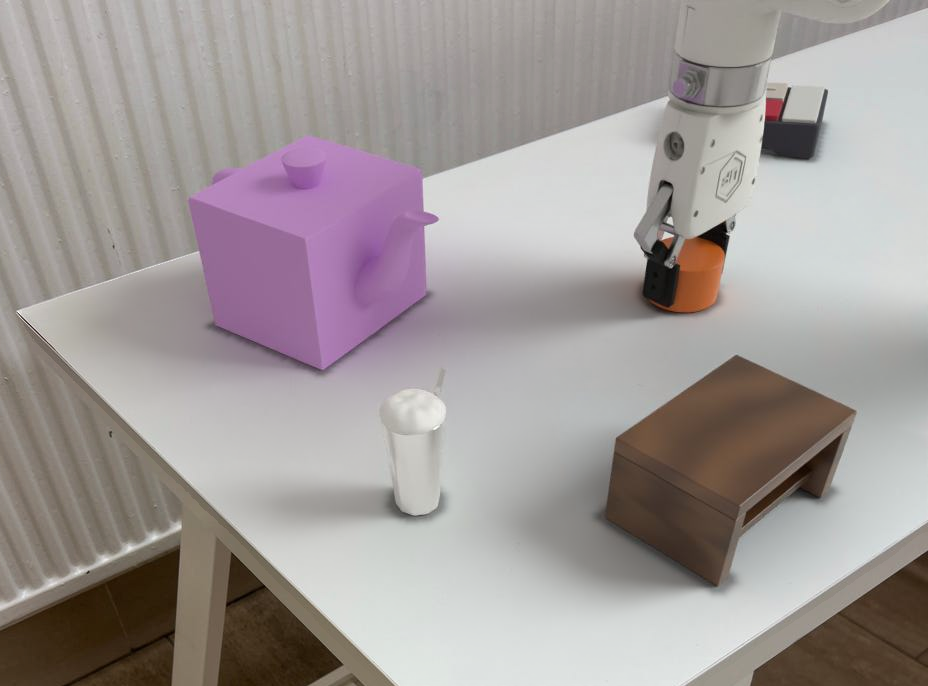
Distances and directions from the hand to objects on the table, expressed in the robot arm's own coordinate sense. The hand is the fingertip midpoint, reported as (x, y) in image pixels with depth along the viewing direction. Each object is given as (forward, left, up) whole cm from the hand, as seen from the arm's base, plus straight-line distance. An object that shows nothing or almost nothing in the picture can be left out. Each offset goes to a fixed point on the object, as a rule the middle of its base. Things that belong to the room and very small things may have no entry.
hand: (682, 284), depth 90 cm
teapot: (+21, +25, -1) cm, 33 cm away
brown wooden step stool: (-20, +22, -1) cm, 30 cm away
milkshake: (-4, +37, -1) cm, 37 cm away
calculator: (+16, -35, -1) cm, 39 cm away
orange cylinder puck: (0, 0, -1) cm, 1 cm away
